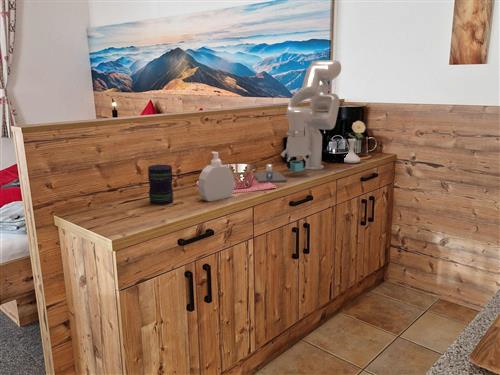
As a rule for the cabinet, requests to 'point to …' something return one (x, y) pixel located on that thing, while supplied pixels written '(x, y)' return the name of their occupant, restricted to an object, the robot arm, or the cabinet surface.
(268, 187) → the cabinet surface
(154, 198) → the storage jar
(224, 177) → the soap bottle
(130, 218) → the cabinet surface
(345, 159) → the flower in vase
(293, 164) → the ring
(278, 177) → the metal plate with knob
